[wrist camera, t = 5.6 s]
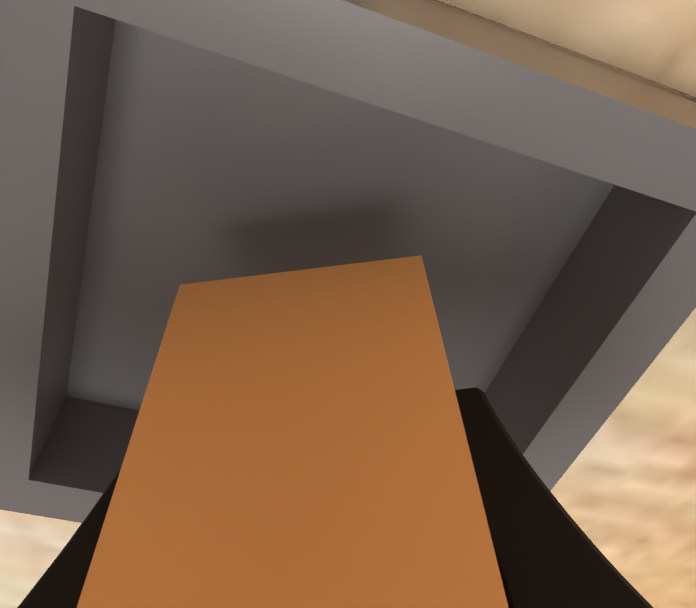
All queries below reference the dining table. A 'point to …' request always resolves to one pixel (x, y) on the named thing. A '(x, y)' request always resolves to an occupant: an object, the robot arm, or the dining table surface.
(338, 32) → the tray
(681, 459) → the dining table surface
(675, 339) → the dining table surface
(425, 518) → the block
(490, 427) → the robot arm
